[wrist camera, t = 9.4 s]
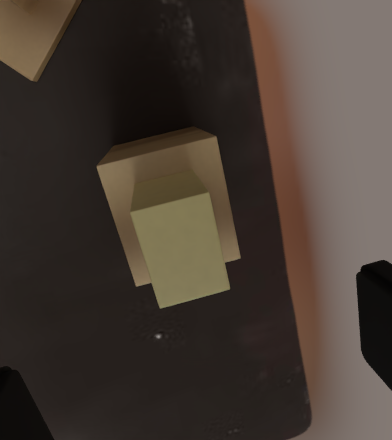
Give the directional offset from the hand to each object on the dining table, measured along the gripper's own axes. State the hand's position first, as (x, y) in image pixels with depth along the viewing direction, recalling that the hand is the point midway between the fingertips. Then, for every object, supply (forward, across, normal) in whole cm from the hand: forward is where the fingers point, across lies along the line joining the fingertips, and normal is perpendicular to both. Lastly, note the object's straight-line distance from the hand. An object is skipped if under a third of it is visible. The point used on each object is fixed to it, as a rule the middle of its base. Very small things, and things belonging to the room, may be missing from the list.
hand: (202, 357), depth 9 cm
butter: (+12, 0, 0) cm, 12 cm away
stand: (+22, 0, 0) cm, 22 cm away
